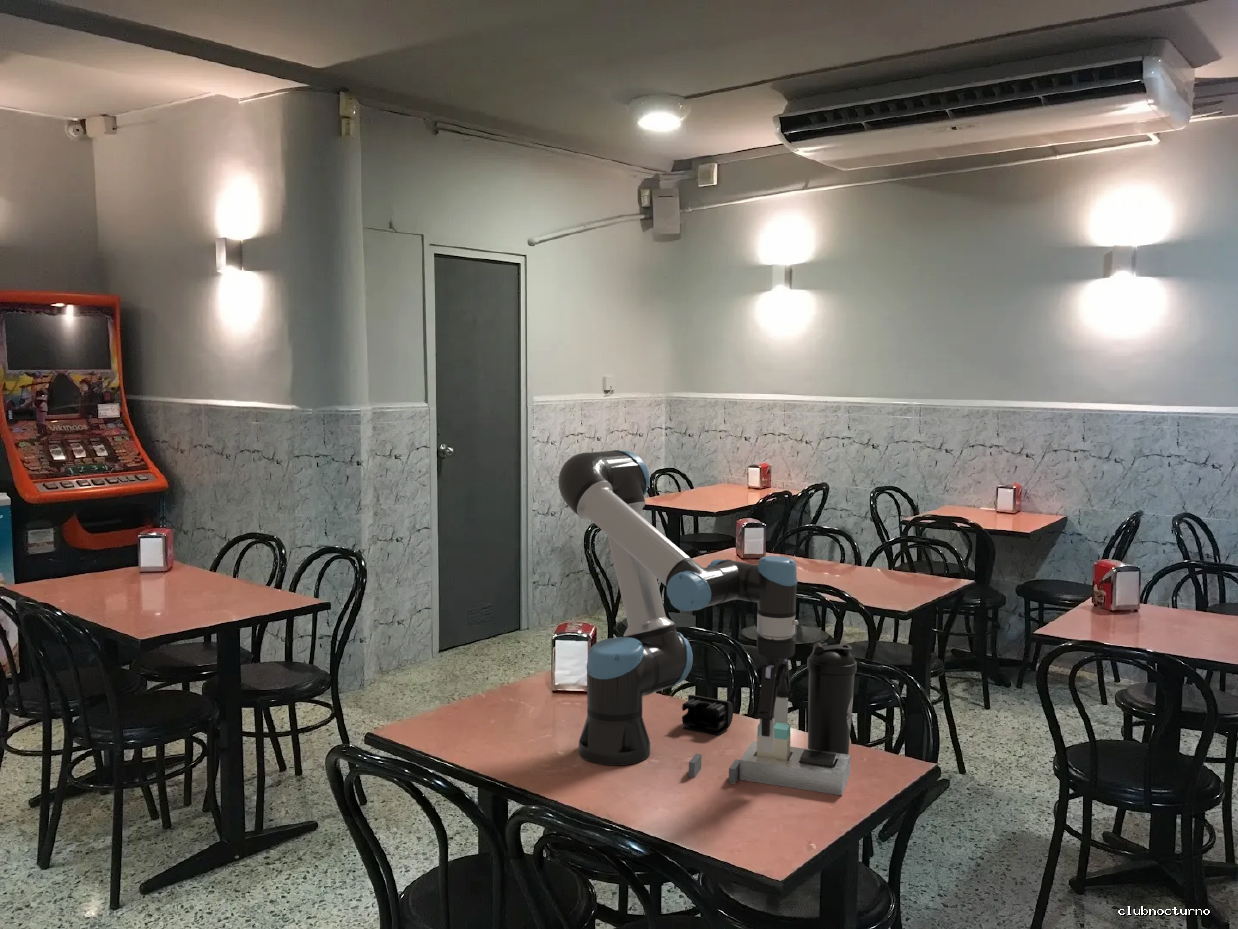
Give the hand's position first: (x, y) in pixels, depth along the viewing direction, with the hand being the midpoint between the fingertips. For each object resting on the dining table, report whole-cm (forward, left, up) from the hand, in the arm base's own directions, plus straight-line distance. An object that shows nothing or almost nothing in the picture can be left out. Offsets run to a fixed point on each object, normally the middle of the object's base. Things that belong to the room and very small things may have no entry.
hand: (773, 739), depth 197 cm
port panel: (+4, 0, -7) cm, 8 cm away
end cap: (-20, +20, -7) cm, 29 cm away
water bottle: (+8, +16, -7) cm, 19 cm away
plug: (0, 0, -7) cm, 7 cm away
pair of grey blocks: (-10, -6, -7) cm, 14 cm away
